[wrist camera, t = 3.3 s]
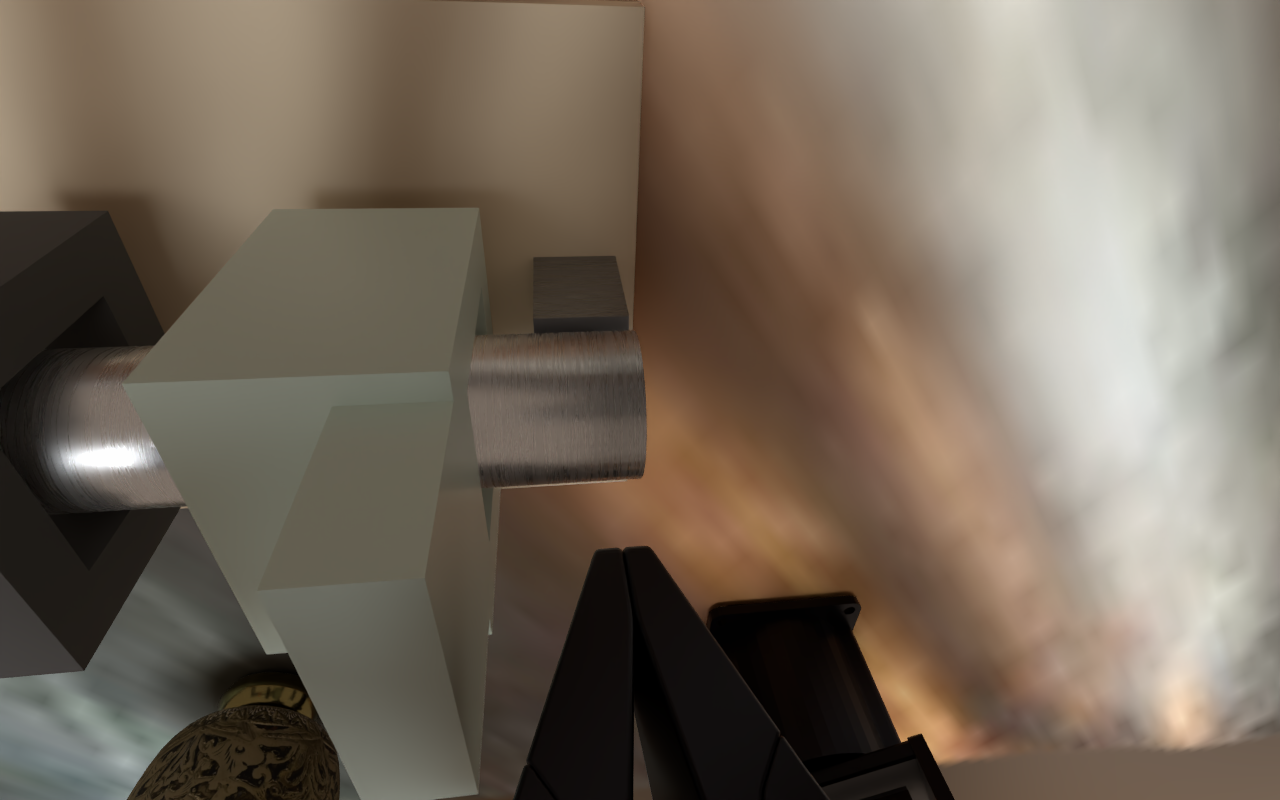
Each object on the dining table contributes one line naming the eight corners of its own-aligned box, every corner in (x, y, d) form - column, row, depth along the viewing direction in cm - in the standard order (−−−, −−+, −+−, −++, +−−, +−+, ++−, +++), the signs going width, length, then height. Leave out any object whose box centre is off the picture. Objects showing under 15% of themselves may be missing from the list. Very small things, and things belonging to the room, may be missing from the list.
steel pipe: (615, 238, 16) (651, 385, 11) (613, 353, 18) (643, 520, 13) (-479, 254, 13) (-1083, 459, 8) (-337, 387, 15) (-756, 617, 10)
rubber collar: (107, 210, 13) (-152, 394, 8) (216, 446, 16) (84, 670, 11) (-8, 211, 12) (-349, 401, 8) (128, 450, 16) (-45, 682, 11)
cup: (130, 658, 24) (-12, 921, 18) (324, 618, 24) (251, 867, 18) (235, 748, 29) (152, 983, 23) (399, 714, 29) (361, 940, 23)
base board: (638, 1, 14) (645, 7, 13) (623, 459, 22) (627, 483, 21) (-729, -43, 11) (-840, -38, 10) (-176, 505, 19) (-212, 535, 18)
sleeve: (479, 207, 13) (416, 545, 6) (503, 431, 17) (482, 808, 10) (272, 209, 13) (-49, 578, 6) (343, 440, 17) (198, 842, 9)
